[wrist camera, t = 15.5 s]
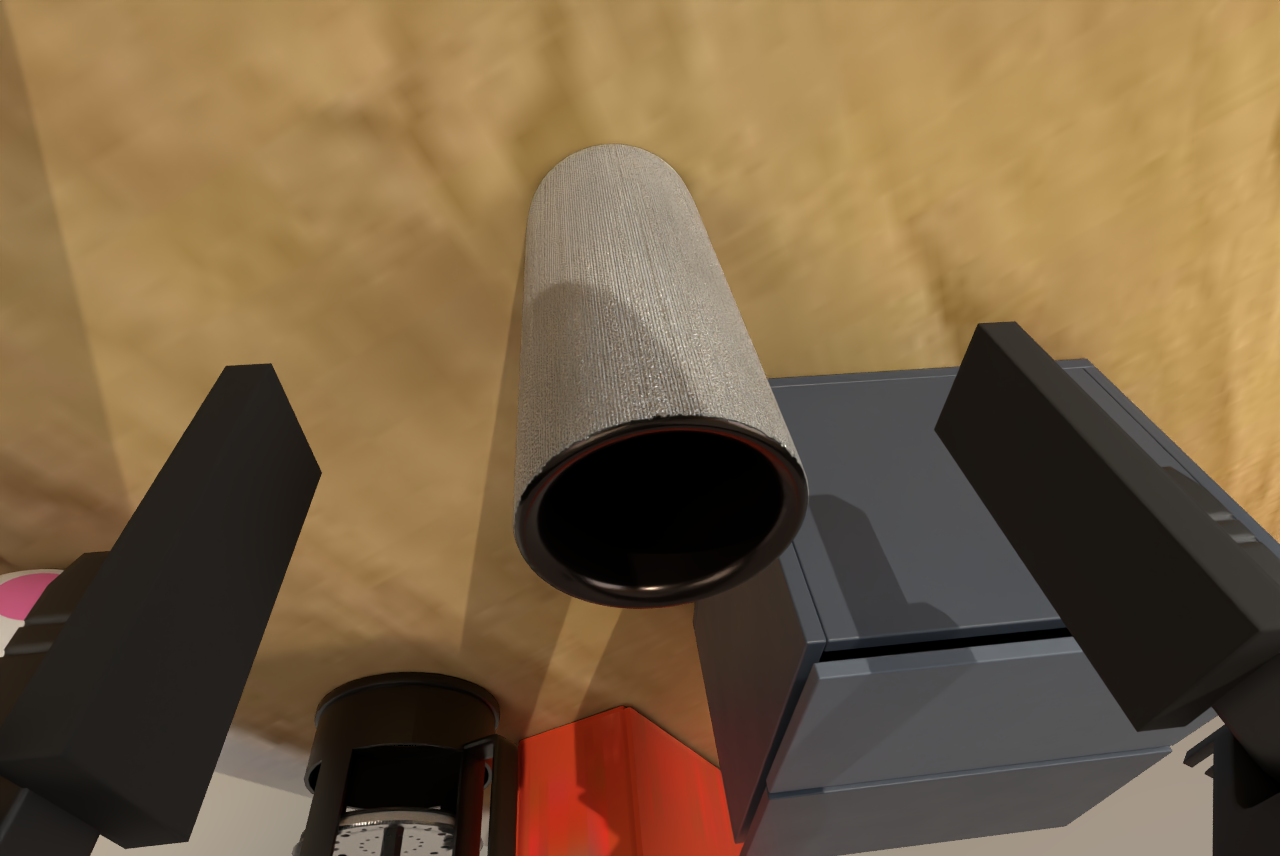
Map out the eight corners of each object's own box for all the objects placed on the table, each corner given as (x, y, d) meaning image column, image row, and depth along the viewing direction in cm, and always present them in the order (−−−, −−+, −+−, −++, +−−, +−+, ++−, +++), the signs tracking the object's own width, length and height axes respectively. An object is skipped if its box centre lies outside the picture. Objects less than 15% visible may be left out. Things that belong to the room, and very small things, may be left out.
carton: (721, 380, 21) (817, 678, 14) (1087, 358, 22) (1361, 621, 15) (692, 621, 31) (739, 868, 24) (945, 597, 33) (1066, 827, 25)
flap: (813, 662, 14) (818, 679, 14) (1341, 608, 15) (1356, 623, 15) (765, 779, 19) (768, 794, 19) (1165, 732, 20) (1173, 745, 20)
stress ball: (110, 573, 29) (139, 719, 28) (-165, 607, 22) (-147, 806, 20) (201, 502, 27) (240, 659, 25) (-79, 515, 19) (-51, 736, 18)
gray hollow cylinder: (671, 114, 16) (791, 376, 8) (711, 273, 19) (824, 571, 11) (497, 176, 16) (456, 475, 9) (563, 321, 19) (576, 636, 12)
